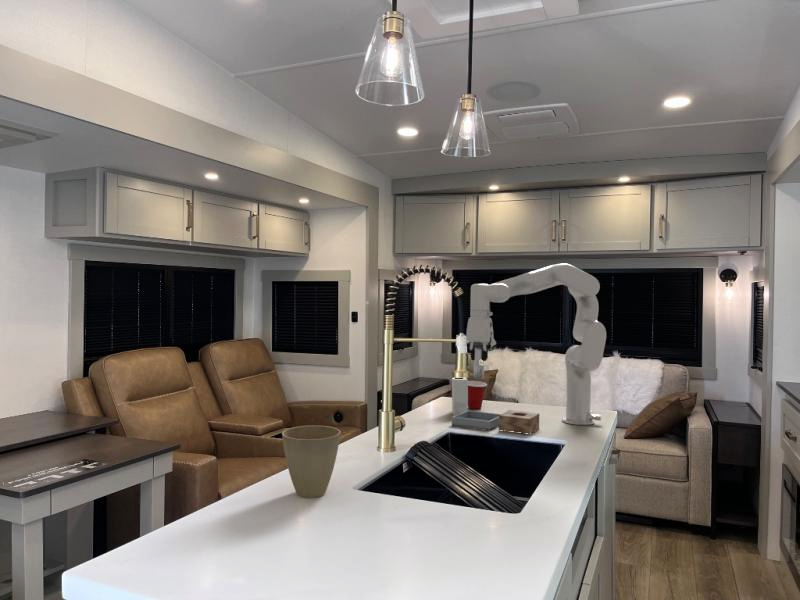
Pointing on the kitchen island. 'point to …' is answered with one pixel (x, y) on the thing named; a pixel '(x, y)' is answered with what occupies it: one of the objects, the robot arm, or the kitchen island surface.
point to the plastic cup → (475, 394)
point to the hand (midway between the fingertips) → (479, 359)
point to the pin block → (519, 421)
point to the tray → (476, 420)
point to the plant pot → (311, 457)
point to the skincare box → (459, 395)
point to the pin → (477, 356)
